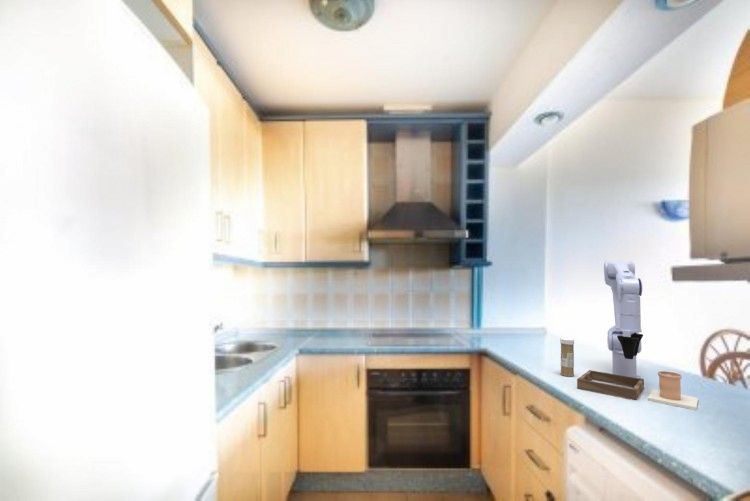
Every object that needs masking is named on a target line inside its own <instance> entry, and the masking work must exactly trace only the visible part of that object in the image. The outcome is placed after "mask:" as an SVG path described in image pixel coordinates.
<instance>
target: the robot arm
mask: <svg viewBox="0 0 750 501" xmlns="http://www.w3.org/2000/svg"><path fill="white" fill-rule="evenodd" d="M635 275H636V265H635V263H634V262H633V260H631V261H607V260H606V261H604V262H603V276H604V283H605V284H606V285H607V286H609V287H610V289H611V291H612V292H611V293H612V302H613V313H614V322H615V325H613V326H611V327H610V328H609V329H608V330H607V348H608V350H609V351H611V355H612V374H616V375H621V376H627V377H633V378H639V379H641V375H638V373H637V371H638V370H637V367H638V366H637V356H638V354H640V353H641V352H642V339H643V337H644V334H642V332H643V330H642V326H641V325H642V324H641V320H642V318H641V314H642V313H641V296H642V294H643V282H642V279H641V278H640V277H637V278H636V276H635Z"/></svg>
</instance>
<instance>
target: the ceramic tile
mask: <svg viewBox="0 0 750 501" xmlns="http://www.w3.org/2000/svg"><path fill="white" fill-rule="evenodd" d="M647 401H649V402H653V403H658V404H664V405H668V406H674V407H679V408H683V409H689V410H693V411H697V409H698V404H699V397H695V396H691V395H685V394H681V400H669V399H665V398H662V397H660V390H658V389H652V390H651V392H650V394H649V395H648V396H647Z"/></svg>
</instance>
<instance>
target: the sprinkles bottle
mask: <svg viewBox="0 0 750 501" xmlns="http://www.w3.org/2000/svg"><path fill="white" fill-rule="evenodd" d="M559 340H560V341H559V343H560V375H561V376H564V377H575V373H574V372H575V369H574V367H575V351H574V346H575V345H574V344H575V339H574V338H572V337H560V339H559Z"/></svg>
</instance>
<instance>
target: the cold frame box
mask: <svg viewBox="0 0 750 501" xmlns="http://www.w3.org/2000/svg"><path fill="white" fill-rule="evenodd" d="M619 385H620V386H619ZM576 388H577V389H578V390H583V391H587V392H588V391H589V392H592V393H593V392H594V393H598V394H601V395H602V394H603V395H607V396H612V397H618V398H622V399H628V400H631V399H632V401H636V400H637V401H638V399H639V397H640V396H641V394H642V393H643V391H644V390H645V379H643V378H633V377H627V376H621V375H616V374H613V373H609V372H603V371H597V370H593V369H589V370H587V371H586V372H584V373H583V374H581V376H579V377H578V378H577V379H576Z"/></svg>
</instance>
